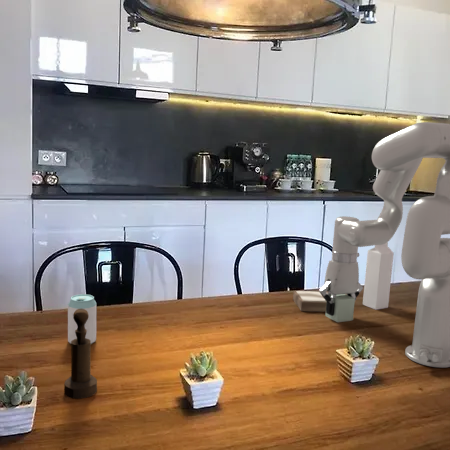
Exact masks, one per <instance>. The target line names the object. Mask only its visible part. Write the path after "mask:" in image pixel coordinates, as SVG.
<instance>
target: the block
mask: <svg viewBox="0 0 450 450" xmlns="http://www.w3.org/2000/svg"><path fill="white" fill-rule="evenodd" d="M331 296H332V295H331ZM330 298H331V297H330ZM326 303H327V302H326ZM333 303H335V307H334V315H333V316H331V315H329V314H327V313H326V312H325V317H326V318H328V319H330V320H332V321H334V322H336V323H342V322H350V321H353V320H354V311H355V303H356V300H355V298H352V297H350V296H348V295H347V294H340V295H336V297H335V300H334V302H333Z"/></svg>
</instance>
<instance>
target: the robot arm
mask: <svg viewBox="0 0 450 450" xmlns="http://www.w3.org/2000/svg"><path fill="white" fill-rule="evenodd" d="M427 158H429V159H437V158H438V159H443V160H445V162H444V164H443V165H442V166H441V168H440V171H439V172H438V176H437V178H436V184H435V185H436V187H435V190H434V194H433V195H428V196H423V197H420V198H419V199H417V200H415V202H414V203H413V204H412V205H411V207H410V208H409V210H408V213H407V216H406V221H405V227H404V234H403V239H402V240H403V241H402V247H401V257H400V258H401V265H402V267H403V270H404V271H405V273H406V275H408V276H409V277H410V278H412V279H415V280H421V281H420V283H419V288H418V291H417V292H418V294H417V299H416V300H417V302H416V310H415V319H414V325H413V326H414V327H413V328H414V329H413V334H412V335H413V337H412V344H411V345H408V346H407V347H405V351H404V352H405V353H404V354H405V356H406V357H407V358H409V359H410V361H413V362H415V363H417V364H420V365H423V366H427V367H432V368H443V369H444V368H450V237H442V236H443V235H450V123H444V122H431V121H427V122H426V121H424V122H422V121H421V122H417V123H414V124H411V125H409V126H407V127H404V128H402V129H400V130H399V131H396V132H393V133H391V134H390V135H388V136H385V137H384V138H382V139H381V140H379V141H378V142H377V143H376V144H375V146H374V148H373V149H372V152H371V161H372V164H373V166H374V167H375V168H376V169H377V170H379V173H378V174H377V177H376V179H375V181H374V183H373V185H372V190H373V192H374V193H375V195H376V196H378V197H379V198H380V199H382V200H383V206H382V207H383V208H382V209H381V212H380V214H379V216H378V217H377V219H369V220H368V219H367V220H359V218H357V217H354V216H347V215H346V216H338V217H336V218H335V220H334V225H333V226H334V229H333V238H332V239H333V241H332V252H331V260H329V261H328V263H327V267H326V271H325V276H324V283H323V284H324V285H322V287H321V288H319V290H318V292H320V293H321V295H322V296H323V298H324V299H325V301H327V303H326V311H325V314H326V313H327V314H329V315H331V316H333V315H334V307H335V303H333V302H334V300H335V297H336V295H340V294H346V295H348V296H350V297H352V298H355V301H356V300H357V298H358V296H359V295H360V293H361V291H363V290H364V287H363V285H361V283H360V281H359V280H360V278H359V277H360V275H359V274H360V272H359V271H360V270H359V262H358V258H359V257H360V253H359V252H358V250H359V248H363V247H371V246H375V245H382V244H385V243H387V242H388V243H389V242H390V240H391V239H393V237H394V235H395V233H396V232H397V230H398V229H399V227H400V225H401V224H402V219H403V215H404V214H403V213H404V212H403V211H404V207H403V197H404V195H405V193H406V191H407V189H408V188H409V185H410V183H412V182H411V181H413V178H414V176H415V174H416V173H417V171H418V169H419V167H420V165H421V164H422V161H423V159H427ZM326 292H328V293H326ZM331 295H332V296H331ZM330 297H331V298H330Z"/></svg>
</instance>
